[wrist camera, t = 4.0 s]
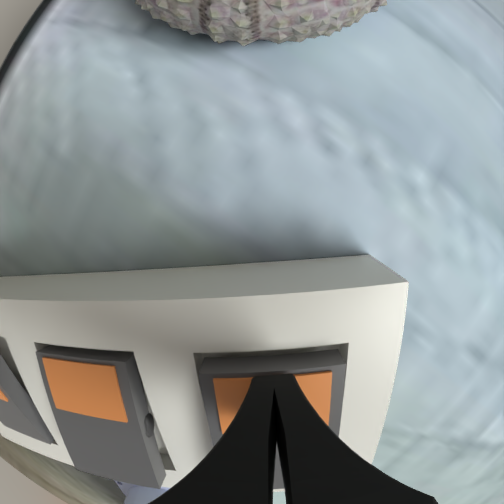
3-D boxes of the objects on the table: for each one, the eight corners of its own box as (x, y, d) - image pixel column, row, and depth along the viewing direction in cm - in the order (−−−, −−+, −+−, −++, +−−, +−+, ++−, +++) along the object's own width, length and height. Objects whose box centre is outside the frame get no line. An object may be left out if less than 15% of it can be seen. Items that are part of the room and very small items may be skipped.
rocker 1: (58, 427, 13) (50, 446, 12) (12, 411, 14) (3, 426, 12) (0, 345, 10) (-15, 365, 9) (-40, 335, 11) (-53, 350, 9)
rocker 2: (326, 462, 12) (331, 484, 10) (226, 468, 12) (223, 491, 10) (336, 345, 11) (346, 365, 9) (205, 353, 11) (197, 375, 9)
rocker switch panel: (351, 432, 16) (366, 479, 12) (26, 409, 17) (2, 436, 13) (369, 254, 14) (408, 281, 9) (-24, 277, 15) (-62, 295, 11)
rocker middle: (168, 471, 12) (159, 490, 10) (87, 455, 12) (74, 470, 10) (139, 350, 12) (123, 363, 10) (53, 343, 12) (33, 352, 10)
